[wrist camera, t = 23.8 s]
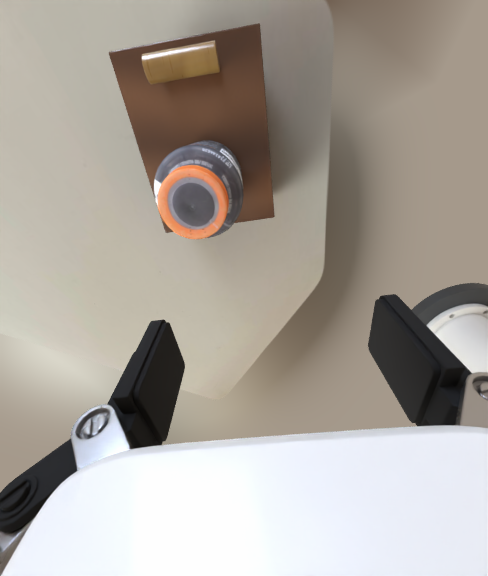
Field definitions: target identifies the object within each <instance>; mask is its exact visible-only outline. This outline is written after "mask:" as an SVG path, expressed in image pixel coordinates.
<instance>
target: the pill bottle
mask: <svg viewBox="0 0 488 576" xmlns="http://www.w3.org/2000/svg"><path fill="white" fill-rule="evenodd" d="M154 194H155V199H156V203H157V206H158V209H159V212H160V215H161V217H162V219H163V221H164V222H165V224H166V225H167V226H168V227H169V228H170V229H171V230H172V231H174V232H175V233H177V234H178V235H180V236H183V237H185V238H189V239H202V238H209V237H213V236H217V235H219V234H221V233H223V232H225V231H226V230H228V229H229V228H230V227H231V226H232V225H233V224H234V222H235V221H236V219H237V218H238V216H239V214H240V212H241V208H242V204H243V195H244V194H243V182H242V173H241V168H240V165H239V162H238V160H237V158H236V157H235V155H234V154H233V153H232V152H231V151H230V150H229V149H228V148H227V147H226V146H224V145H223V144H221V143H218V142H215V141H210V140H208V141H200V142H195V143H193V144H190V145H186V146H183V147H180V148H178V149H176V150H174V151H173V152H171V153H170V154H168V155H167V156H166V157H165V158H164V160H163V161H162V162H161V164H160V165H159V167H158V169H157V172H156V175H155V181H154Z"/></svg>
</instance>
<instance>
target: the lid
mask: <svg viewBox="0 0 488 576" xmlns="http://www.w3.org/2000/svg"><path fill="white" fill-rule="evenodd" d="M109 56H110V59H111V62H112V65H113V68H114V71H115V74H116V78H117V81H118V84H119V87H120V90H121V93H122V96H123V100H124V103H125V106H126V109H127V112H128V115H129V119H130V122H131V125H132V128H133V131H134V134H135V137H136V141H137V144H138V147H139V150H140V153H141V156H142V160H143V163H144V166H145V169H146V172H147V175H148V178H149V182H150V185H151V188H152V191H153V194H154V181H155V175H156V172H157V169H158V167H159V165H160V164H161V162H162V161H163V160H164V158H165V157H166V156H167V155H168V154H170V153H171V152H173V151H174V150H176V149H178V148H180V147H183V146H186V145H190V144H193V143H195V142H200V141H208V140H210V141H215V142H218V143H221V144H223V145H224V146H226V147H227V148H228V149H229V150H230V151H231V152H232V153H233V154H234V155H235V157H236V158H237V160H238V162H239V165H240V168H241V173H242V182H243V194H244V195H243V204H242V208H241V212H240V214H239V216H238V218H237V219H236V221H235V222H234V223H238V222H245V221H252V220H259V219H266V218H273V217H274V204H273V191H272V178H271V165H270V151H269V138H268V125H267V112H266V99H265V85H264V72H263V59H262V46H261V33H260V24H253V25H248V26H243V27H238V28H232V29H227V30H222V31H217V32H211V33H206V34H201V35H196V36H190V37H185V38H180V39H175V40H169V41H164V42H159V43H154V44H149V45H143V46H138V47H133V48H128V49H122V50H117V51H112V52H109ZM154 197H155V194H154ZM155 201H156V199H155ZM156 204H157V203H156ZM157 207H158V206H157ZM158 210H159V209H158ZM159 213H160V212H159ZM160 216H161V215H160ZM161 219H162V217H161ZM162 223H163V226H164V229H165V232H166V233H168V232H174V231H172V230H171V229H170V228H169V227H168V226H167V225H166V224H165V222H164V221H163V219H162Z"/></svg>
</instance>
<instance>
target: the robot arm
mask: <svg viewBox="0 0 488 576" xmlns="http://www.w3.org/2000/svg"><path fill="white" fill-rule="evenodd" d="M368 347H369V351H370V353H371V355H372V357H373V358H374V360H375V362H376V363H377V365H378V367H379V369H380V370H381V372H382V374H383V375H384V377H385V379H386V381H387V382H388V384H389V386H390V388H391V389H392V391H393V393H394V394H395V396H396V398H397V400H398V401H399V403H400V405H401V407H402V408H403V410H404V412H405V413H406V415H407V417H408V418H409V420H410V421H411V422H412V423H416V425H417V427H396V428H381V429H367V430H351V431H338V432H337V431H336V432H322V433H308V434H294V435H280V436H267V437H253V438H240V439H228V440H215V441H202V442H190V443H180V444H168V445H162V441H165V440H166V438H167V436H168V432H169V428H170V424H171V420H172V416H173V412H174V408H175V405H176V401H177V396H178V393H179V389H180V385H181V381H182V377H183V373H184V369H185V364H184V360H183V358H182V355H181V352H180V350H179V347H178V344H177V342H176V339H175V336H174V334H173V331H172V328H171V326H170V323H168V322H167V323H166V321H165V320H157V321H151V322H150V324H149V326H148V328H147V330H146V332H145V334H144V336H143V338H142V340H141V342H140V344H139V346H138V348H137V350H136V352H134V354H133V355H132V357H131V359H130V361H129V363H128V365H127V367H126V369H125V371H124V373H123V374H122V377H121V378H120V380H119V383H118V384H117V386H116V388H115V390H114V392H113V394H112V396H111V398H110V400H109V402H108V404H103V405H98V406H95V407H93V408H91V409H89V410H88V411H87V412H85V413H84V414H83V415H82V416H81V417H80V418H79V419H78V420H77V421H76V423H75V424H74V426H73V428H72V431H71V439H70V440H68V441H67V442H65V443H64V444H62V445H61V446H60V447H58V448H57V449H56V450H54V451H53V452H52V453H50V454H49V455H47V456H46V457H45V458H43V459H42V460H40V461H39V462H38V463H36V464H35V465H33V466H32V467H31V468H29V469H28V470H26V471H25V472H24V473H22V474H21V475H20V476H18V477H17V478H15V479H14V480H13V481H12V482H11V483H9V484H8V485H7V486H6V487H5V488H4V489H3V490H2V492H1V493H0V576H488V307H487V306H485V305H482V304H464V305H460V306H456V307H453V308H450V309H448V310H446V311H444V312H442V313H441V314H439V315H438V316H436V317H435V318H434V319H432V320H431V321H430V322H429V323H428V324H427V326H426V325H425V324H424V323H423V322H422V321H421V320H420V319H419V318H418V317H417V316H416V315H415V314H414V313H413V312H412V311H411V309H410V308H409V307H408V306H407V305H406V304H405V303H404V302H403V301H402V300H401V299H400V298H399V297H398V296H397V295H394V294H393V295H384V296H380V298H379V299H378V300H376V301H375V307H374V313H373V319H372V325H371V331H370V337H369V343H368Z"/></svg>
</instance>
